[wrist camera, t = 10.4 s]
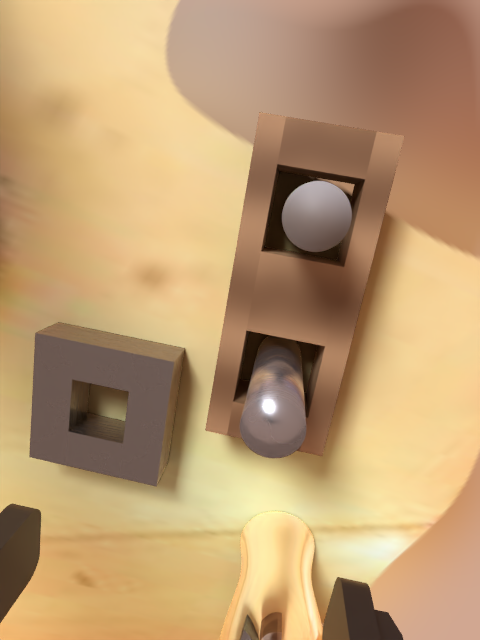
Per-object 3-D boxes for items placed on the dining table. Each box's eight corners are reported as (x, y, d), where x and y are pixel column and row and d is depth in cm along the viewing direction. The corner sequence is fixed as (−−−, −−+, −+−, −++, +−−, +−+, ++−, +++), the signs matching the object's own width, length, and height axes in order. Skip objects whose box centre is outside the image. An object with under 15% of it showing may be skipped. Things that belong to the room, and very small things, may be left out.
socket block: (58, 322, 32) (35, 332, 29) (184, 348, 32) (174, 361, 29) (51, 436, 35) (29, 457, 32) (167, 463, 34) (156, 486, 31)
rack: (263, 126, 27) (251, 85, 18) (388, 147, 27) (434, 115, 18) (215, 404, 32) (187, 474, 24) (318, 426, 32) (329, 506, 23)
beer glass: (219, 544, 35) (170, 770, 21) (268, 489, 34) (252, 697, 19) (284, 590, 36) (281, 844, 21) (337, 539, 34) (372, 779, 20)
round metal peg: (261, 329, 30) (245, 391, 20) (305, 338, 30) (313, 405, 20) (253, 370, 31) (234, 450, 21) (296, 379, 31) (298, 464, 21)
